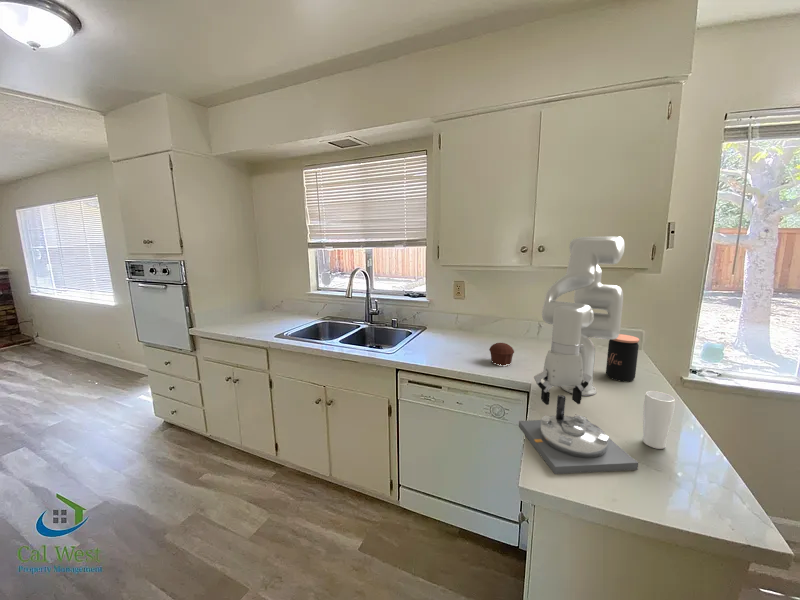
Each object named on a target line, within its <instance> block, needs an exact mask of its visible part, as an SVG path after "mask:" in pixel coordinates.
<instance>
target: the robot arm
mask: <svg viewBox="0 0 800 600" xmlns="http://www.w3.org/2000/svg"><path fill="white" fill-rule="evenodd" d="M625 246H626V245H625V240H624V238H623V237H622V236H619V235H618V236H616V235H615V236H614V235H613V236H610V235H609V236H580V237H576V238H572V239H571V241H570V242H569V254H570V255H569V258H568V259H569V261H568V264H567V269H566V273H565V275H563V276H561V277H560V278H559V279H557V280H556V281H555V282H554V283H552V285H551V286H550V287H548V290H547V291H546V293H545V298H544V302H543V306H542V310H541V316H542V320H543V321H544V322H545V323H546V324H549V325H552V329H551V330H552V332H551V343H550V344H551V345H550V349H549V350H547V353H546V356H545V360H544V363H543V364H544V366H543V370H542V371H541V372H540V373H537V374H535V375H534V376H533V379H534V381H535V383H536V385H537V386H538V387H539V388H540V389H541V391H540V392H541V393H540V394H541V395H540V400H541V402H543V403H544V404H545V405H546V406H549V405H550V398H551V397H550V395H551V393H550V392H549V390H551V389H552V388H553V387H560V388H561V389H562V390H564V391H565V392H567V393H570V394H572V397H571V399H572V401H573V402H575V403H576V404H577V405H580V404H581V401H582V396H584V397H586V396H587V397H588V396H594V395H595V394H597V388H596V387H595V385H593V382H594V381H593V379H594V370H595V360H596V359H595V358H596V346H595V344H594V342H593V341H592V340H591V338H595V339H600V340H601V339H602V340H607V341H609V340H614V339H616V338H617V337H618V336H619V334H621V333H620V332H621V327H622V316H623V305H624V292H623V289H622V287H621V286H618V285H616V284H615V285H614V284H603V283H602V273H603V271H602V268H601V267H600V266H599V265H617V264H618V263H619V262H620V261H621V260H622V257H623V256H624V254H625V253H624V252H625ZM573 291H574V296H573V302H570V301H569V302H568V301H558V300H557V299H558V298H559V297H561V296H562V295H564V294H567V293H571V292H573ZM594 310H602V311H606V313H601V312H595V311H594ZM542 380H543V382H542Z"/></svg>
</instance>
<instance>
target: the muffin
mask: <svg viewBox="0 0 800 600" xmlns="http://www.w3.org/2000/svg"><path fill="white" fill-rule="evenodd" d="M488 350H489V353H490V359H491V362H492V361H493V363H496V364H499V365H500V364H501V365H506V364H510V363H511V364H512V360H513V356H514V353H515V350H514V348H513V347H512V346H511V345H510V344H508V343H505V342H497V343H494V344H491V346H490V347H489V349H488ZM493 363H492V364H493ZM511 364H510V365H511Z"/></svg>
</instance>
